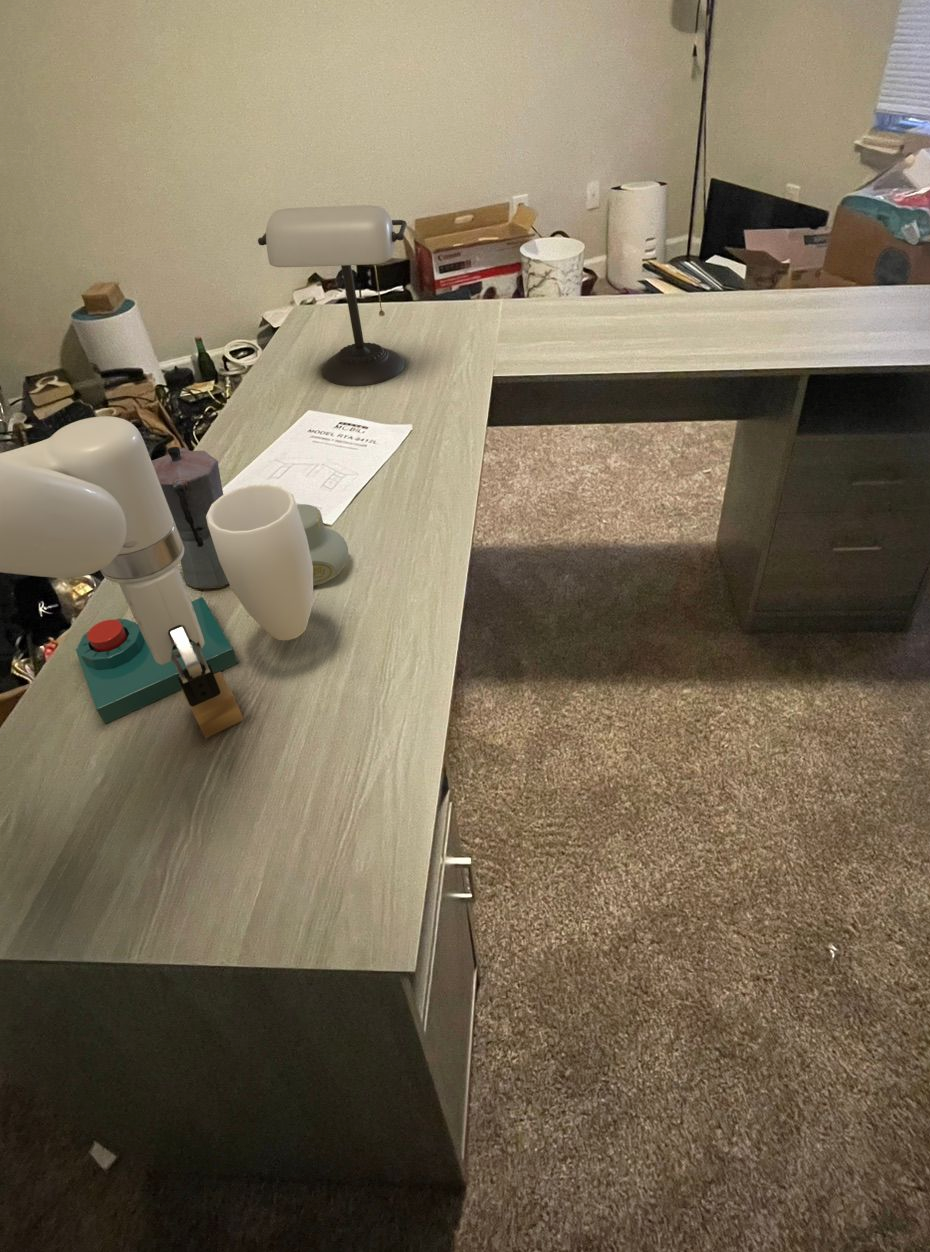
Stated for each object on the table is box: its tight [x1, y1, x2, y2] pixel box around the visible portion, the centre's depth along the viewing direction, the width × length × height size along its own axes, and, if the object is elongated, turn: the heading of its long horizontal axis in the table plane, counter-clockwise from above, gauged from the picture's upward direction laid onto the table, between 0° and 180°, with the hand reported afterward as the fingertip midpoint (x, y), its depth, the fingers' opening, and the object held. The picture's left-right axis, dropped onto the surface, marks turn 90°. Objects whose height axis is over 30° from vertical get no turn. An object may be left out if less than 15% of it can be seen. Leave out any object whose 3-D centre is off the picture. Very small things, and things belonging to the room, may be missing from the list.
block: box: [181, 671, 244, 739], centre depth 85 cm, size 4×4×4 cm
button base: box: [75, 596, 239, 725], centre depth 92 cm, size 16×12×4 cm
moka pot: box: [151, 446, 230, 590], centre depth 100 cm, size 10×15×20 cm, turn 26°
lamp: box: [257, 204, 408, 387], centre depth 145 cm, size 26×24×34 cm
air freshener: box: [297, 503, 349, 587], centre depth 103 cm, size 11×8×10 cm
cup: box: [206, 483, 314, 641], centre depth 88 cm, size 10×10×22 cm
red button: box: [87, 619, 127, 652], centre depth 90 cm, size 4×4×2 cm
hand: (191, 671), depth 80 cm, fingers open, 9 cm apart
